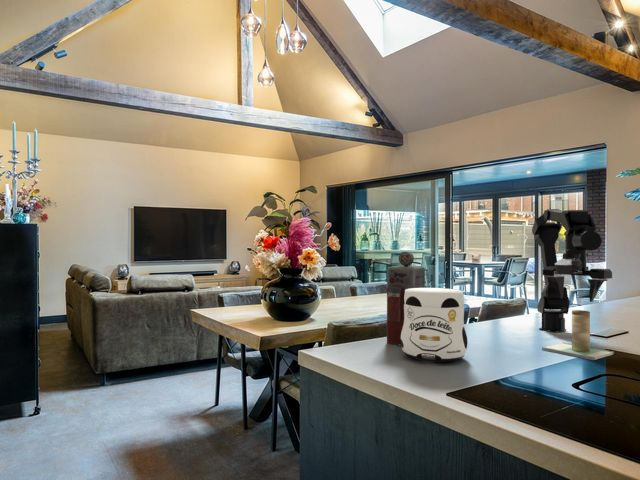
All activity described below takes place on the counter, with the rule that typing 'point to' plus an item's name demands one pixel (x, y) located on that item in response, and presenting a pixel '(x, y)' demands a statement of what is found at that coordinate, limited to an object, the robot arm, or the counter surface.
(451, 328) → the white black rounded container
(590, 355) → the board
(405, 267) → the dark red bottle
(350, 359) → the counter surface
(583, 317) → the peg
